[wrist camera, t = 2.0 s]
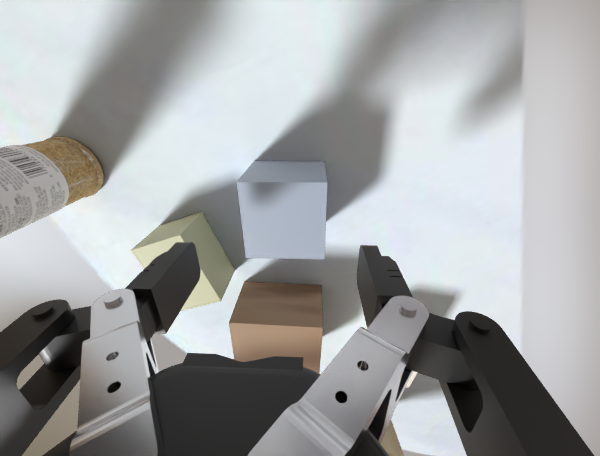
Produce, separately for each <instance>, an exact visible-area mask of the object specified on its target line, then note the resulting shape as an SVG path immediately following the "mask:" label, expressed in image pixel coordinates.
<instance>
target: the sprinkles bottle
mask: <svg viewBox="0 0 600 456" xmlns="http://www.w3.org/2000/svg"><path fill="white" fill-rule="evenodd" d="M103 178H104V175H103V171H102V168H101V166H100V163H99V162H98V160H97V158H96V157H95V155H94V154H93V153H92V152H91V151H90V150H89V149H88V148H87V147H85V146H83V145H82V144H81V143H79V142H77V141H75V140H73V139H71V138H67V137H51V138H48V139H46V140H44V141H41V142H36V143H31V144H26V145H21V146H20V145H12V146H6V147H1V148H0V238H1V237H3V236H6V235H7V234H10V233H12V232H14V231H16V230H18V229H20V228H23V227H25V226H27V225H29V224H31V223H33V222H35V221H37V220H39V219H41V218H44V217H46V216H48V215H50V214H52V213H54V212H56V211H58V210H60V209H61V208H63V207H64V206H67V205H69V204H71V203H73V202H75V201H77V200H79V199H81V198H83V197H88V196H91V195H94V194H96V193H97V192H98V191H99V190H100V188H101V186H102V184H103Z"/></svg>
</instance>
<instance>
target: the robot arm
mask: <svg viewBox="0 0 600 456" xmlns="http://www.w3.org/2000/svg"><path fill="white" fill-rule="evenodd" d="M199 279H200V265H199V260H198V256H197V251H196V247H195V244H194V243H193V242H176V243H175V244H174V245H173V246H172V247H171V248H170V249H169V250H168V251H167V252H164V253H162V254H161V255H159V256H157V257H156V258H155V259H154V260H153V261H152V262H151V263H150V264H149V266H147V267H146V268H145V269H144V270H143V271H142V272H141V273H140V274H139V275H138V276H137V277H136V278H135V279H134V280H133V281H132V282H131V283H130V284H129V285H128V286H127V287H126V288H125V289H117V290H114V291H111V292H108V293H106V294H104V295H102V296H101V297H99V298H98V299H96V301H94V303H93V304H92V306H89V307H84V308H78V309H73V310H72V309H71V307H70V306H69V304H68V302H67V301H65V300H52V301H48V302H45V303H42V304H40V305H37V306H35V307H33V308H31V309H30V310H28V311H27V312H25V313H24V314H23V315H22V316H20V317H19V318H18V319H17V320H15V321H14V322H13V323H12V324H10V325H9V326H8V327H7V328H5V329H4V330H3V331H2V332H0V456H22V454H23V453H24V452H25V451H26V449H27V448H28V447H29V445H30V444H31V443H32V441H33V440H34V439H35V437H36V436H37V435H38V433H39V432H40V431H41V430H42V428H43V427H44V425H45V424H46V423H47V421H48V420H49V419H50V418H51V416H52V415H53V414H54V412H55V411H56V410H57V409H58V407H59V405H61V403H62V402H63V401H64V399H65V398H66V397H67V395H68V394H69V393H70V392H71V390H72V389H73V387H74V386H75V385H76V384H77V382H78V381H79V380H80V391H79V408H78V425H77V431H76V432H75V433H73V434H71V435H70V436H69V437H67V438H66V439H65V440H63V441H62V442H60V443H59V444H58V445H56V446H55V447H54V448H52V449H51V450H49V451H48V452H47V453H45V454H44V455H43V456H389V454H388V453H387V452H386V451H385V449H384V448H383V447H382V446H381V444H380V443H381V441H382V439H383V437H384V435H385V433H386V430H387V428H388V426H389V423H390V420H391V418H392V415H393V412H394V410H395V408H396V406H397V404H398V402H399V400H400V398H401V396H402V394H403V391H404V389H405V387H406V385H407V383H408V381H409V379H410V377H411V375H412V373H413V371H415V372H418V373H421V374H424V375H427V376H430V377H433V378H436V379H439V382H440V384H441V387H442V390H443V392H444V395H445V398H446V400H447V403H448V406H449V409H450V411H451V414H452V417H453V419H454V422H455V425H456V427H457V430H458V433H459V435H460V438H461V441H462V443H463V446H464V449H465V451H466V454H467V456H594V455H593V454H592V452H591V451H590V449H589V448H588V447H587V445H586V444H585V442H584V441H583V440H582V438H581V437H580V436H579V434H578V433H577V431H576V430H575V429H574V427H573V426H572V425H571V423H570V422H569V420H568V419H567V418H566V416H565V415H564V414H563V412H562V411H561V409H560V408H559V407H558V405H557V404H556V403H555V401H554V400H553V398H552V397H551V396H550V394H549V393H548V392H547V390H546V389H545V387H544V386H543V385H542V383H541V382H540V380H539V379H538V378H537V376H536V375H535V373H534V372H533V371H532V369H531V368H530V367H529V365H528V364H527V363H526V361H525V360H524V358H523V357H522V356H521V354H520V353H519V351H518V350H517V349H516V347H515V346H514V345H513V343H512V342H511V340H510V339H509V338H508V336H507V335H506V333H505V332H504V331H503V329H502V328H501V327H500V326H499V325H498V324H497V323H496V322H495V321H493V320H492V319H490V318H489V317H487V316H485V315H482V314H479V313H476V312H467V311H466V312H461V313H459V314H458V315H457V316H456V318H455V320H451V319H447V318H443V317H439V316H436V315H433V314H431V313H429V311H428V309H427V307H426V306H425V305H424V304H423V303H422V302H420V301H419V300H417V299H415V298H413V296H412V294H411V292H410V290H409V288H408V286H407V284H406V282H405V280H404V278H403V276H402V274H401V272H400V270H399V268H398V266H397V264H396V262H395V261H393V260H392V259H391V258H390V257H389V256H381V254H380V252H379V249H378V247H377V246H368V245H361V246H360V250H359V260H358V269H357V285H358V289H359V294H360V298H361V303H362V307H363V311H364V316H365V320H366V325H367V329H365V328H363V327H360V328H359V329H358V330H357V331H356V332H355V333H354V335H353V336H352V337H351V338H350V339H349V341H348V342H347V343H346V344H345V346H344V347H343V348H342V349H341V351H340V352H339V353H338V354H337V355H336V357H335V358H334V359H333V360H332V362H331V363H330V364H329V365H328V366H327V368H326V369H325V370H324V371H323V373H322V374H319V373H317V372H315V371H313V370H311V369H308V368H305V367H304V364H303V357H281V356H273V357H268V358H263V359H258V360H253V361H247V362H240V361H237V360H234V359H230V358H227V357H224V356H220V355H217V354H199V353H187V356H186V358H185V360H184V362H183V363H181V364H177V365H174V366H171V367H169V368H167V369H164V370H162V371H160V372H159V370H158V366H157V362H156V357H155V352H154V348H153V344H152V341H151V337H152V335H153V334H166V333H167V331H168V330H169V328H170V326H171V325H172V323H173V322H174V320H175V318H176V317H177V315H178V314H179V312H180V310H181V309H182V307H183V306H184V304H185V302H186V301H187V299H188V298H189V296H190V294H191V293H192V291H193V290H194V288H195V286H196V285H197V283H198V281H199ZM38 354H39V355H40V357H41V359H42V360H43V362H44V365H43V366H42V367H41V368H40V369H39V370H38V371H37V372H36V373H35V374H34V375H33V376H32V377H31V378H30V379H29V381H28V382H26V384H25V385H24V386H23V387H22V388H21V389H20V390H19V389H18V388H17V385H16V383H17V378H18V376H19V374H20V372H21V371H22V370H23V369H24V368H25V367H26V366H27V365H28V364H29V363H30V362H31V361H32V360H33V359H34V358H35V357H36V356H37V355H38Z"/></svg>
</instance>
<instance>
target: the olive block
mask: <svg viewBox="0 0 600 456" xmlns="http://www.w3.org/2000/svg"><path fill="white" fill-rule="evenodd" d="M176 242H193V243H194V244H195V247H196V251H197V256H198V260H199V265H200V279H199V281H198V283H197V285H196V286H195V288H194V290H193V291H192V293H191V294H190V296H189V298H188V299H187V301H186V302H185V304H184V306H183V307H182V309H181V310H180V311H182V310H186V309H191V308H195V307H199V306H203V305H207V304H211V303H215V302H219V301H221V300H222V298H223V295H224V293H225V291H226V289H227V287H228V284H229V282H230V280H231V278H232V275H233V273H234V271H235V270H234V268H233V266H232V264H231V263H230V261H229V259H228V257H227V255H226V254H225V252H224V250H223V248H222V247H221V245H220V243H219V241H218V239H217V238H216V236H215V234H214V232H213V230H212V229H211V227H210V225H209V223H208V221H207V220H206V218H205V216H204V214H203V213H202V212H199V213H196V214H193V215H190V216H187V217H184V218H181V219H178V220H175V221H171V222H168V223H165V224H162V225H160V226H158V227H157V228H156V229H155V230H154V231H153V232H151V233H150V234H149V235H148V236H147V237H146V238H144V239H143V240H142V241H141V242H140V243H139V244H138V245H136V246H135V247H134V248H133V249H132V250H131V251H132V253H133V254H134V256H135V257H136V258H137V260H138V261H139V262H140V264H141V265H142V266H143V268H144V269H145V268H146V267H147V266H149V264H150V263H151V262H152V261H153V260H154V259H155V258H156V257H157V256H159V255H161V254H162V253H164V252H167V251H168V250H169V249H170V248H171V247H172V246H173V245H174V244H175V243H176Z"/></svg>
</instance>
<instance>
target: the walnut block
mask: <svg viewBox="0 0 600 456" xmlns="http://www.w3.org/2000/svg"><path fill="white" fill-rule="evenodd" d="M229 326H230V333H231V339H232V346H233V353H234V360H237V361H240V362H247V361H253V360H258V359H263V358H268V357H273V356H281V357H303V364H304V367H305V368H308V369H311V370H313V371H315V372H317V373H319V370H320V357H321V345H322V333H323V315H322V285H310V284H289V283H268V282H246V281H244V284H243V286H242V289H241V292H240V295H239V297H238V300H237V303H236V305H235V308H234V311H233V313H232V316H231V319H230V322H229Z"/></svg>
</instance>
